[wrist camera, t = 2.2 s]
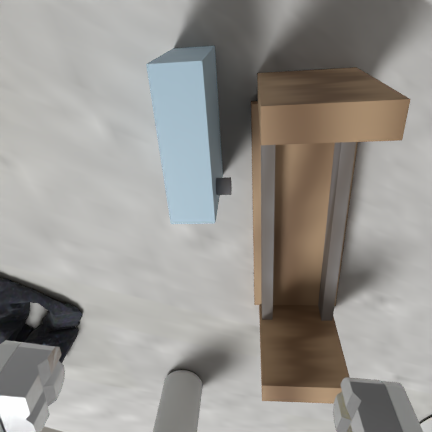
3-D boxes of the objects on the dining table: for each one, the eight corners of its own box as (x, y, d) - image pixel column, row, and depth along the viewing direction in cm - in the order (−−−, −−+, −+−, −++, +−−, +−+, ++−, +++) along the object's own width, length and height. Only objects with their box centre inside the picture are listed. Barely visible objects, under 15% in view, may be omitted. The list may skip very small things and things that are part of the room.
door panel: (228, 44, 26) (221, 59, 19) (234, 173, 31) (230, 222, 24) (173, 48, 26) (146, 64, 19) (188, 175, 31) (170, 224, 24)
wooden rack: (363, 66, 25) (421, 98, 17) (331, 312, 37) (355, 404, 29) (250, 73, 26) (250, 106, 18) (254, 311, 38) (256, 400, 30)
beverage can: (202, 368, 44) (187, 480, 34) (204, 392, 46) (191, 503, 36) (163, 366, 44) (136, 476, 34) (167, 390, 47) (144, 499, 36)
